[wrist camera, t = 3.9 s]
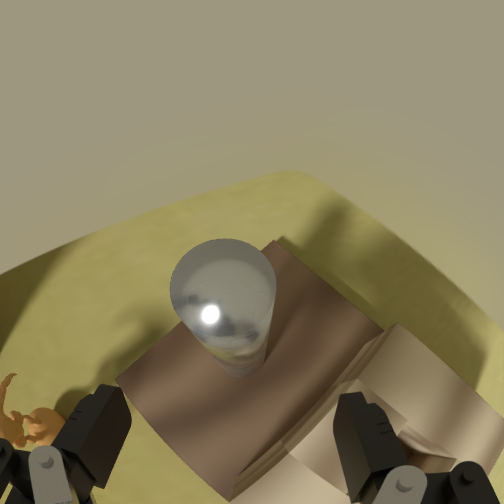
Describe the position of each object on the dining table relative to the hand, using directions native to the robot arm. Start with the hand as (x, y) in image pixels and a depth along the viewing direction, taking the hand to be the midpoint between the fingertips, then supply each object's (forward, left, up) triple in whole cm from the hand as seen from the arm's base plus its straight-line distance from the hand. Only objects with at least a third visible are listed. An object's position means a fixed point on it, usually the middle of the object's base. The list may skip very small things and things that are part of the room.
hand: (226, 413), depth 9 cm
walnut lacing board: (+5, +3, -12) cm, 13 cm away
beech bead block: (+11, +3, -11) cm, 15 cm away
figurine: (-8, -14, -12) cm, 20 cm away
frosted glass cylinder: (-3, +3, -11) cm, 11 cm away
